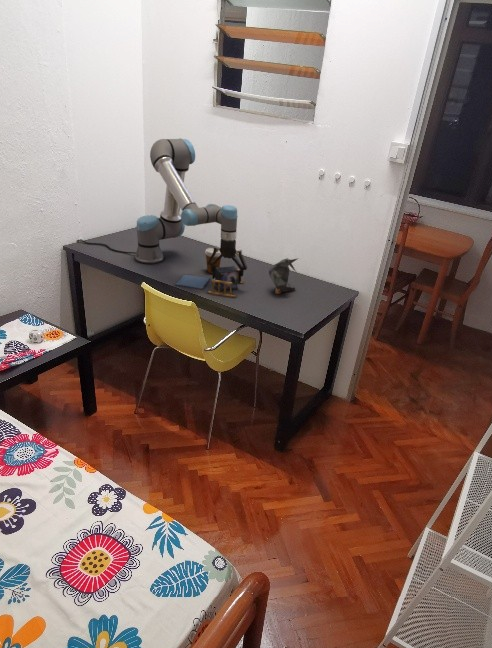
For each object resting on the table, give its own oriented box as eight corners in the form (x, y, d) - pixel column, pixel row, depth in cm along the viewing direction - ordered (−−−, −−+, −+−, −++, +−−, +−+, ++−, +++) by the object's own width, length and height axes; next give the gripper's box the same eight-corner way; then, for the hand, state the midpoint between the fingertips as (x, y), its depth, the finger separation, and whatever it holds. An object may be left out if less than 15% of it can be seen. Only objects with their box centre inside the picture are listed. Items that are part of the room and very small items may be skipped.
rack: (207, 293, 229) (208, 279, 224) (217, 279, 244) (218, 265, 240) (235, 297, 227) (235, 283, 223) (243, 283, 243) (243, 269, 239)
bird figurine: (262, 286, 242) (265, 254, 232) (288, 284, 248) (292, 252, 238) (273, 298, 231) (276, 264, 222) (299, 295, 237) (304, 262, 227)
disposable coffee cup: (218, 275, 248) (219, 254, 241) (202, 272, 249) (202, 251, 243) (223, 269, 256) (224, 249, 249) (207, 266, 257) (208, 246, 250)
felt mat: (175, 285, 233) (175, 284, 233) (184, 275, 244) (184, 274, 244) (202, 289, 232) (202, 288, 232) (209, 279, 243) (209, 278, 243)
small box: (218, 291, 231) (219, 272, 226) (214, 286, 236) (214, 267, 230) (237, 289, 236) (239, 270, 230) (232, 284, 241) (234, 265, 235)
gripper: (201, 237, 220) (201, 279, 231) (251, 245, 218) (249, 286, 229) (205, 233, 226) (205, 273, 237) (254, 240, 224) (251, 280, 235)
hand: (226, 280), depth 233 cm, fingers open, 13 cm apart
